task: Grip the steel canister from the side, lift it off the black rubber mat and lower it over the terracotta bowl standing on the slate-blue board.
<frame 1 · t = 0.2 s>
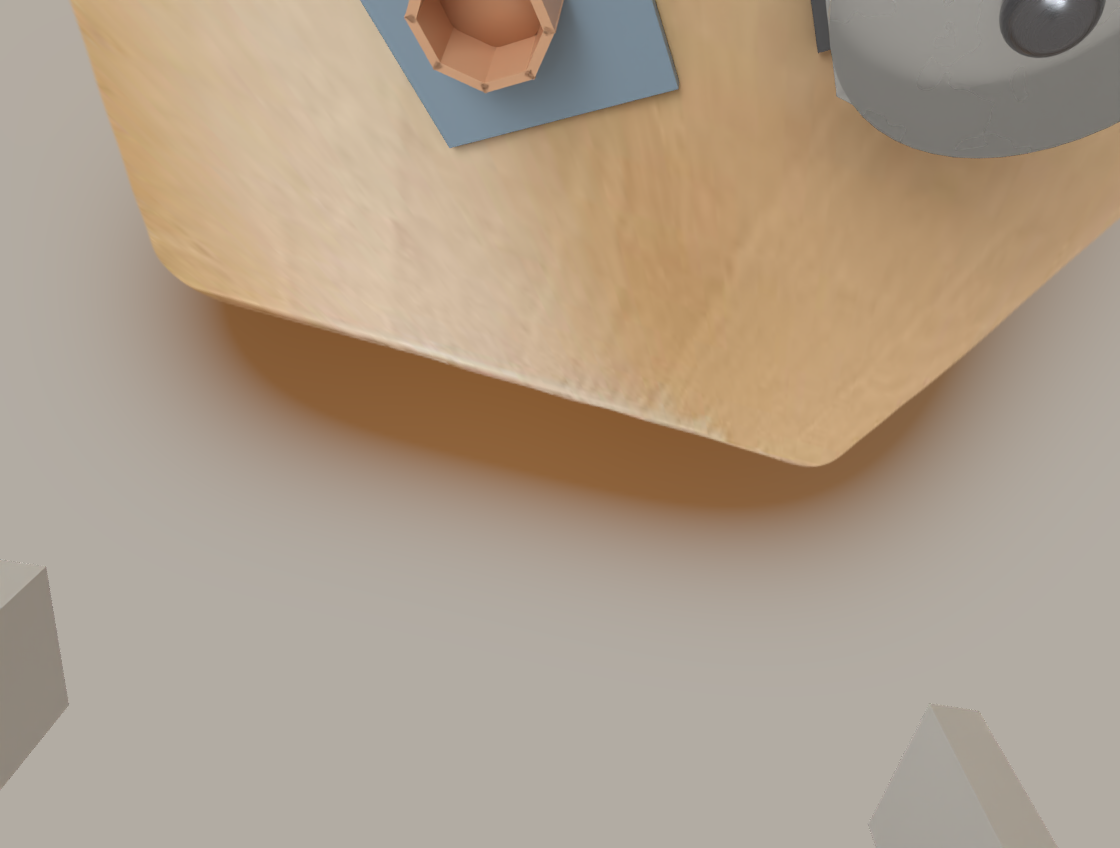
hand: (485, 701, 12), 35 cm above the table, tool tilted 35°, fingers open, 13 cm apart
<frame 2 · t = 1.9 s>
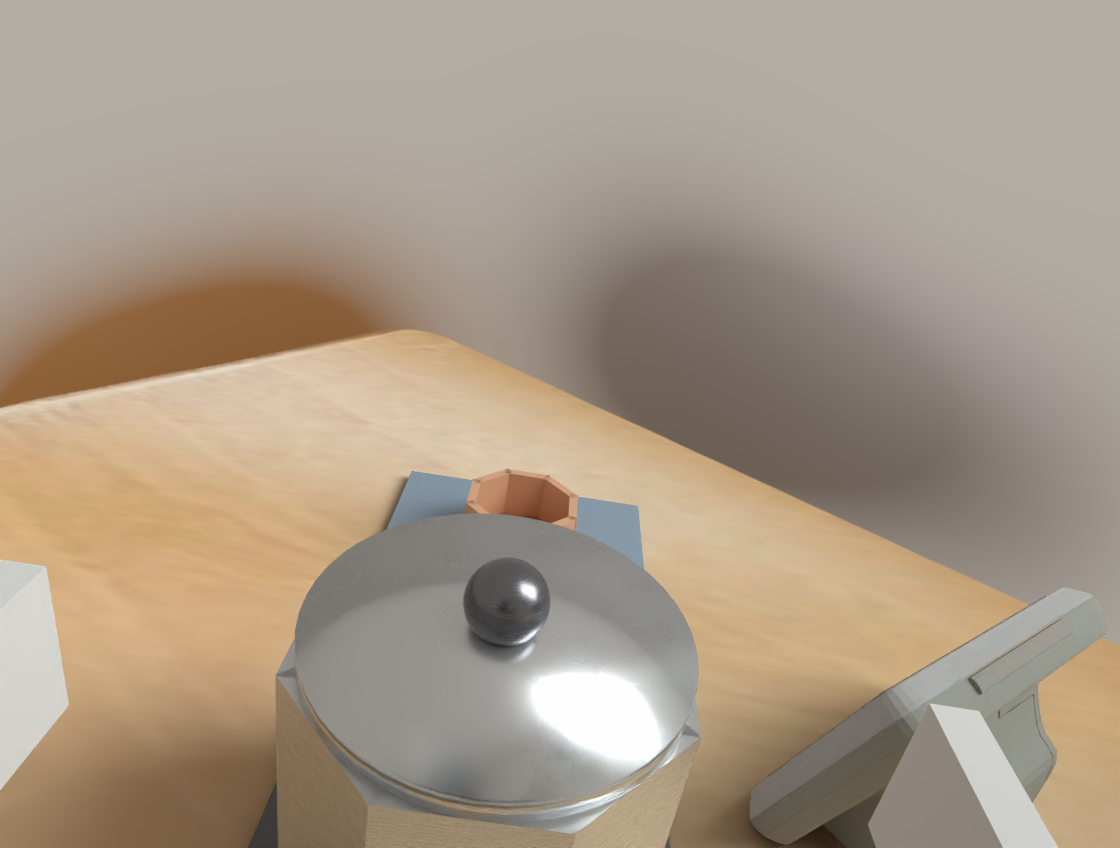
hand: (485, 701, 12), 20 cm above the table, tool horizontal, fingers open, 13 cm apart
terracotta bowl: (516, 546, 48), point 1 cm above the table, touching blue board
blue board: (514, 554, 48), on the table
digital clock: (887, 795, 36), on the table
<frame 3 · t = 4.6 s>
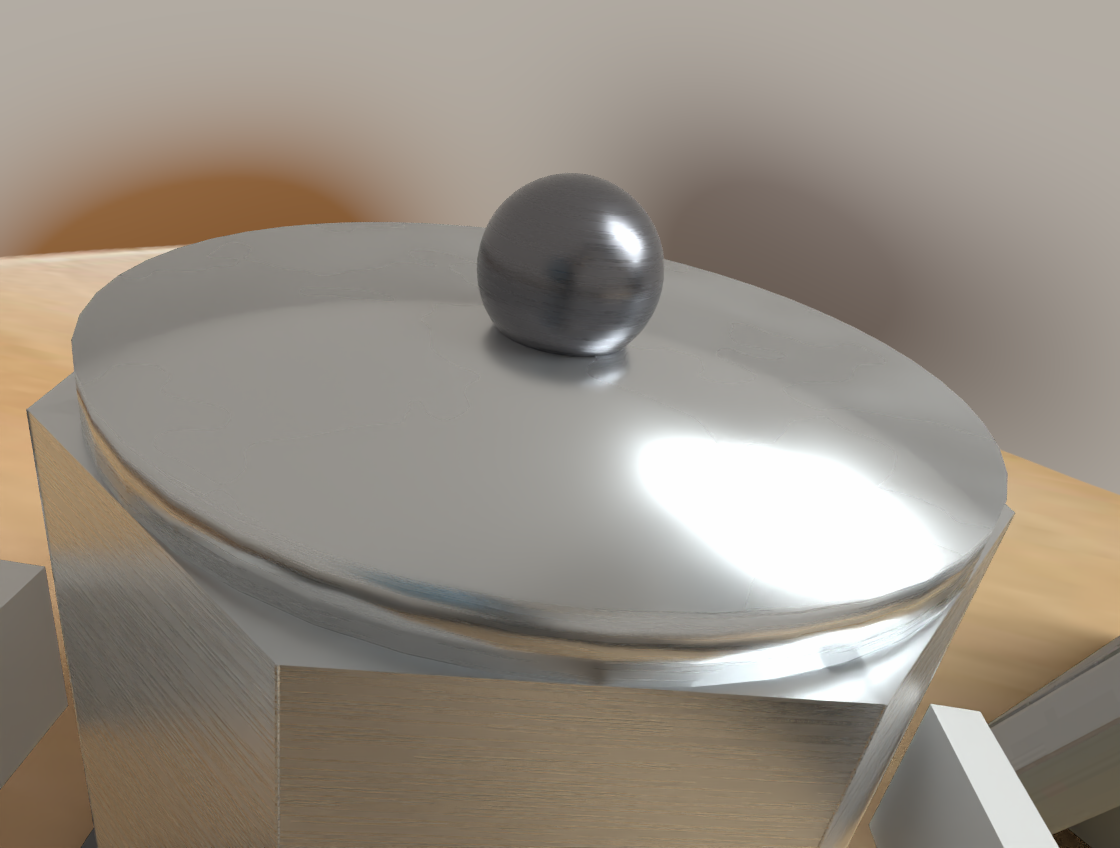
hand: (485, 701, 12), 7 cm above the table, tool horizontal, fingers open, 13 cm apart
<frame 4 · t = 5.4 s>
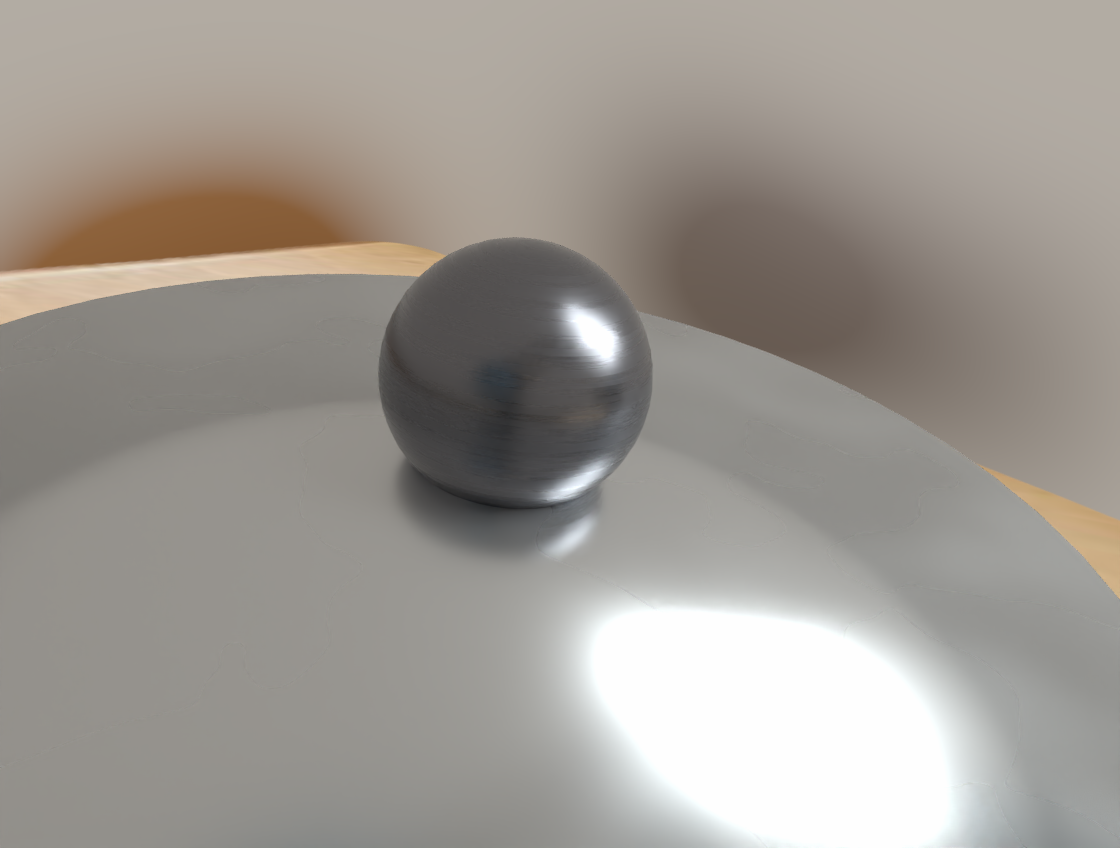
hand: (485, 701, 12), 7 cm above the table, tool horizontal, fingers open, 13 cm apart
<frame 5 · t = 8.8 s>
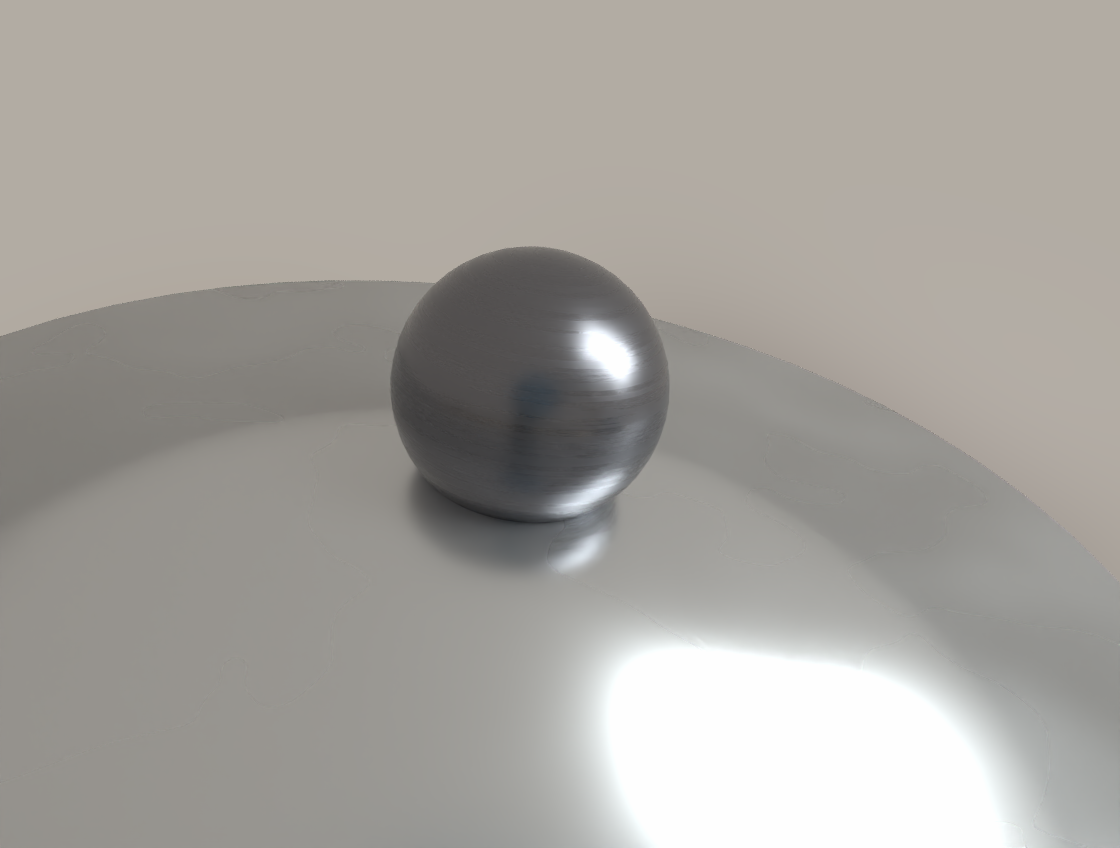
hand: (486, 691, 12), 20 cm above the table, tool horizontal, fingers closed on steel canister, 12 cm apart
when the fingers open (9 cm above the table, at t = 12.0 s): steel canister drops 1 cm, resting on blue board.
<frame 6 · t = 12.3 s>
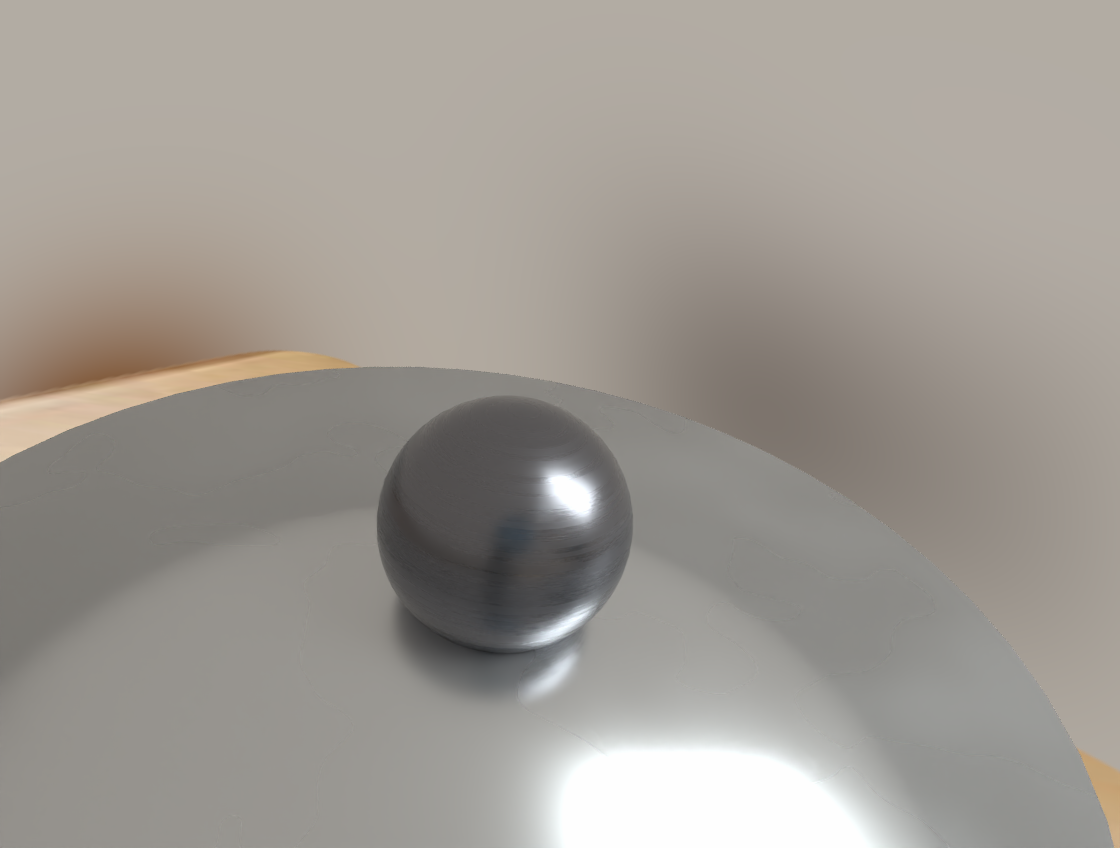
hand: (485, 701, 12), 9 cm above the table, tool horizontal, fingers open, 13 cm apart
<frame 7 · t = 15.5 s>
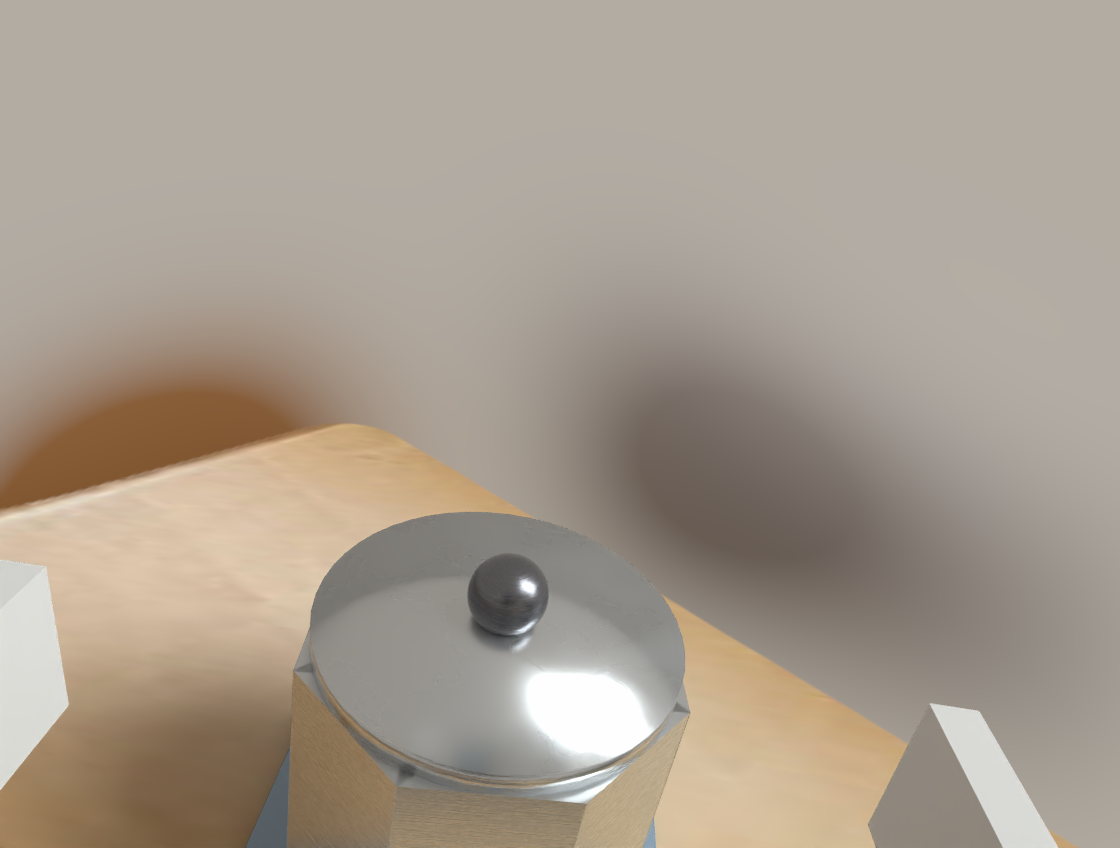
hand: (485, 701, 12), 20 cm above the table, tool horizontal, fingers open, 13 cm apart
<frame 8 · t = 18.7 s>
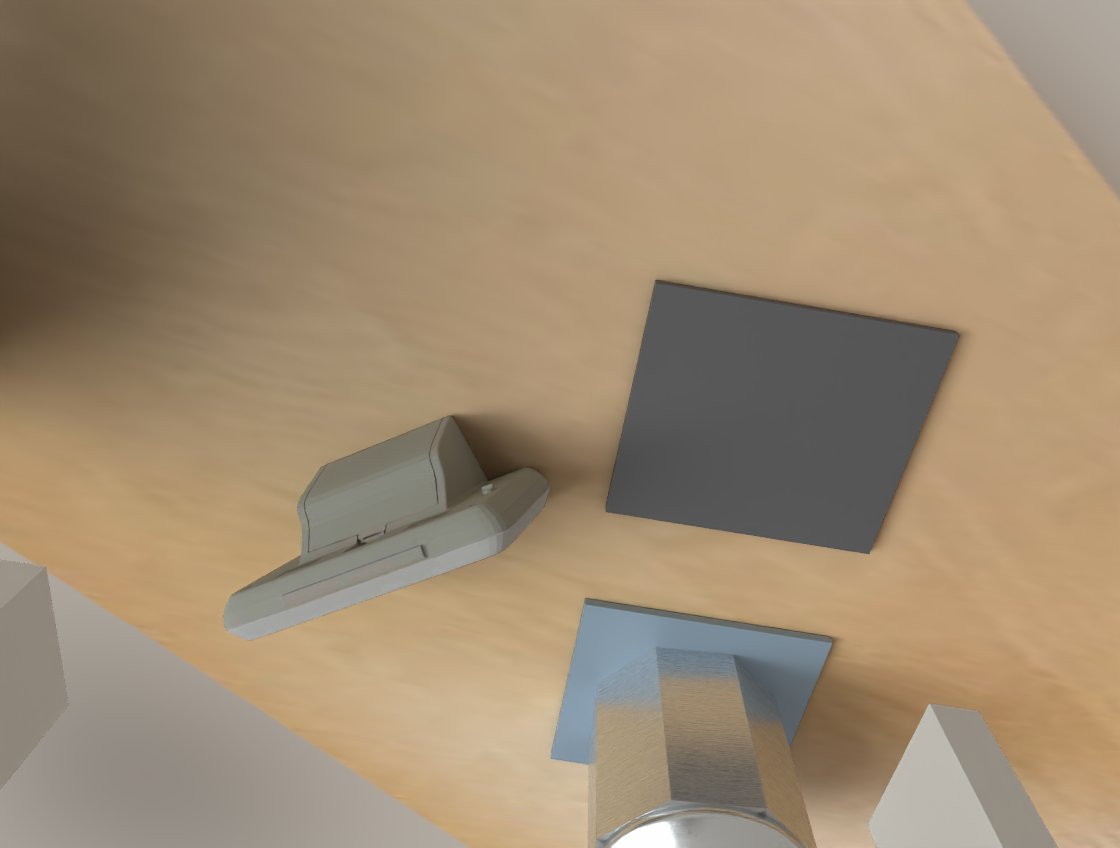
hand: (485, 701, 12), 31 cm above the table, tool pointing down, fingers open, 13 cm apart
black mat: (768, 424, 43), on the table
blue board: (683, 697, 52), on the table
steel canister: (680, 718, 52), point 1 cm above the table, touching blue board
digital clock: (419, 494, 47), on the table
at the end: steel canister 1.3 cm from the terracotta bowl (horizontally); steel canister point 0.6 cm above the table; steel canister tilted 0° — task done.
